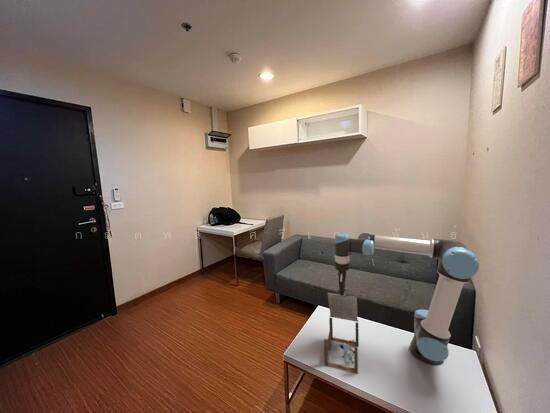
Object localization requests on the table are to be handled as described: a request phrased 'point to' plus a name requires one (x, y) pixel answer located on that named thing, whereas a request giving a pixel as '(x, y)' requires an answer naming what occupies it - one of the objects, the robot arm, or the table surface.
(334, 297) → the lid
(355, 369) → the housing
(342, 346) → the molecular model
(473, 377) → the table surface
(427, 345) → the robot arm
